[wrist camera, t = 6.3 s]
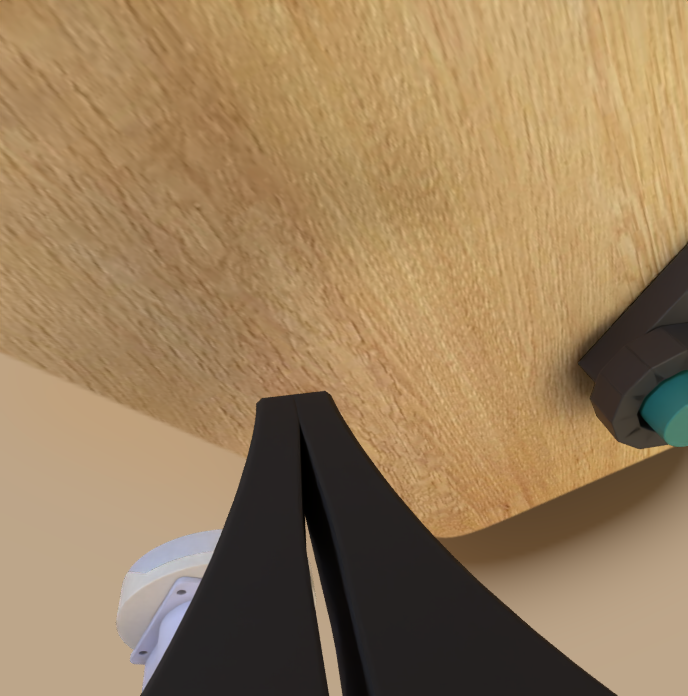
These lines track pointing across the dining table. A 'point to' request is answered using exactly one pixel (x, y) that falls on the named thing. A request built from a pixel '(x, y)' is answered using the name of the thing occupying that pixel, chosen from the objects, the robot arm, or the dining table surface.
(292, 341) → the dining table surface
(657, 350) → the button block
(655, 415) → the button
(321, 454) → the robot arm
